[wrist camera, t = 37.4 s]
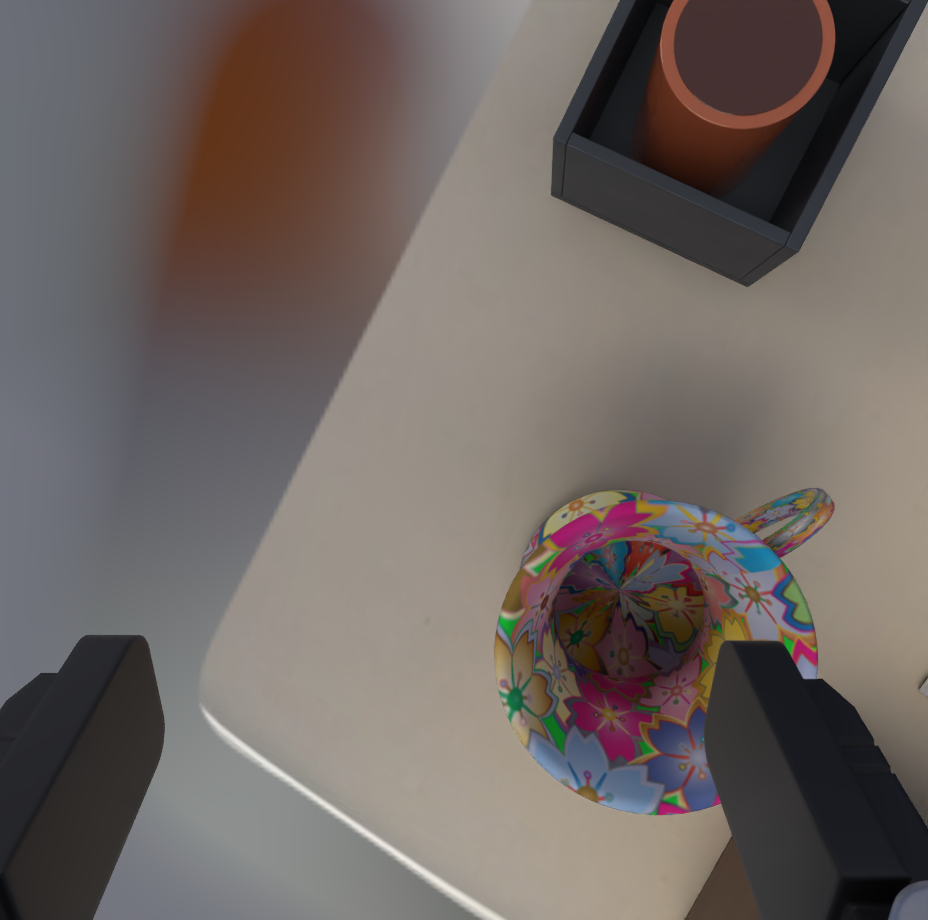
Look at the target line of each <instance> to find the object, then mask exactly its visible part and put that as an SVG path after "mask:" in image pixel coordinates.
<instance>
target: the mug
mask: <svg viewBox="0 0 928 920" xmlns="http://www.w3.org/2000/svg"><path fill="white" fill-rule="evenodd" d="M834 510H835V506H834V502H833V501H832V499H831V498H830V496H829V495H828V494H827V493H826V492H825V491H824V490H822V489H819V488H810V489H804V490H801V491H797V492H794V493H791V494H788V495H786V496H783V497H781V498H778V499H776V500H774V501H772V502H769V503H767V504H765V505H763V506H761V507H759V508H757V509H755V510H753V511H751V512H749V513H747V514H745V515H743V516H742V517H740V518H738V519H736V520H734V521H733V520H731V519H729V518H727V517H725V516H723V515H721V514H719V513H717V512H714V511H711V510H708V509H706V508H703V507H700V506H696V505H692V504H688V503H683V502H676V501H669V500H666V499H664V498H661V497H658V496H656V495H653V494H649V493H645V492H641V491H634V490H607V491H601V492H596V493H592V494H589V495H586V496H583V497H581V498H578V499H576V500H574V501H572V502H570V503H568V504H567V505H565V506H563V507H562V508H560V509H559V510H558V511H556V512H555V513H554V514H553V515H552V516H550V517H549V518H548V519H547V520H546V521H545V522H544V523H543V524H542V526H541V527H540V528H539V529H538V531H537V532H536V533H535V535H534V536H533V538H532V540H531V541H530V543H529V545H528V547H527V549H526V551H525V554H524V556H523V559H522V562H521V566H520V570H519V572H518V573H517V575H516V577H515V578H514V580H513V582H512V584H511V586H510V588H509V590H508V592H507V594H506V597H505V600H504V602H503V605H502V608H501V612H500V615H499V619H498V623H497V630H496V636H495V650H494V658H495V673H496V680H497V685H498V689H499V694H500V698H501V701H502V704H503V706H504V709H505V712H506V714H507V717H508V719H509V721H510V723H511V725H512V727H513V729H514V731H515V732H516V734H517V736H518V737H519V739H520V741H521V742H522V743H523V745H524V746H525V748H526V749H527V750H528V752H529V753H530V754H531V755H532V756H533V758H534V759H535V760H536V761H537V762H538V763H539V764H540V765H541V766H542V767H543V768H544V769H545V770H546V771H547V772H548V773H549V774H550V775H552V776H553V777H554V778H555V779H557V780H558V781H559V782H561V783H562V784H563V785H565V786H566V787H568V788H569V789H571V790H573V791H574V792H576V793H578V794H580V795H581V796H583V797H585V798H587V799H589V800H591V801H594V802H596V803H599V804H601V805H604V806H607V807H610V808H614V809H617V810H621V811H626V812H631V813H637V814H647V815H672V814H683V813H688V812H693V811H698V810H702V809H705V808H709V807H712V806H715V805H717V804H720V803H721V801H720V798H719V796H718V793H717V790H716V787H715V784H714V781H713V778H712V776H711V773H710V770H709V767H708V763H707V759H706V753H705V745H704V723H705V717H706V712H707V707H708V702H709V697H710V692H711V687H712V682H713V677H714V672H715V667H716V662H717V657H718V653H719V649H720V646H721V644H722V643H723V642H724V641H726V640H750V641H780V642H782V643H783V644H784V645H785V647H786V648H787V650H788V651H789V653H790V655H791V657H792V659H793V661H794V662H795V664H796V666H797V668H798V670H799V671H800V673H801V675H802V677H803V679H817V670H818V648H817V640H816V633H815V628H814V624H813V620H812V616H811V613H810V610H809V608H808V605H807V602H806V600H805V598H804V595H803V593H802V591H801V589H800V587H799V585H798V584H797V582H796V580H795V579H794V577H793V575H792V574H791V572H790V571H789V569H788V568H787V567H786V565H785V564H784V563H783V561H782V560H781V559H780V558H781V557H783V556H785V555H786V554H788V553H790V552H791V551H793V550H794V549H796V548H797V547H799V546H800V545H802V544H803V543H804V542H806V541H807V540H808V539H810V538H811V537H812V536H813V535H814V534H816V533H817V532H818V531H819V530H820V529H821V528H822V527H823V526H824V525H825V524H826V523H827V522H828V520H829V519H830V518H831V516H832V514H833V512H834ZM799 513H800V514H799ZM796 514H799V515H798V516H797V517H796V518H795V519H793V520H792V521H791V522H790V523H788V524H787V525H785V526H784V527H783V528H781V529H780V530H778V531H777V532H775V533H774V534H772V535H770V536H769V537H767V538H765V539H763V540H761V539H760V538H759V537H757V536H756V535H755V534H754V533H756V532H758V531H760V530H761V529H764V528H766V527H768V526H770V525H772V524H774V523H776V522H779V521H781V520H783V519H786V518H788V517H791V516H794V515H796Z"/></svg>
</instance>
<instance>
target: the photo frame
mask: <svg viewBox="0 0 928 920" xmlns="http://www.w3.org/2000/svg"><path fill="white" fill-rule="evenodd" d="M919 691H920V692H921V693H923V694H924V695H926V696H927V697H928V678H927V680H926V681H925V683H924V684H923V685H922V687H921V688H920V690H919Z"/></svg>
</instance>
